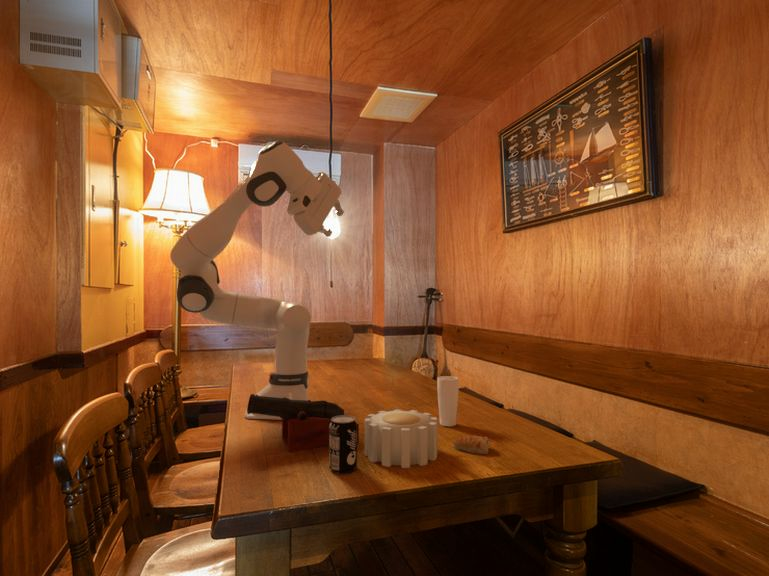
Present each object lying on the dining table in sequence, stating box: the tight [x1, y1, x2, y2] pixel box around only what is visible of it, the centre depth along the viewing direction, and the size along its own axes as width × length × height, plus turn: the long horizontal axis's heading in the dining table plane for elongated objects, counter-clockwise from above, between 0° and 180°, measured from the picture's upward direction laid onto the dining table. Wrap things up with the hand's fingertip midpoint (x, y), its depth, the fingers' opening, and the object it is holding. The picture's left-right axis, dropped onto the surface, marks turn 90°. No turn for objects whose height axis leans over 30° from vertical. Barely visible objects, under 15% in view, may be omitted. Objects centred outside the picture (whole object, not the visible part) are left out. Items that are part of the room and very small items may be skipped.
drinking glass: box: [436, 375, 460, 428], centre depth 140 cm, size 7×7×15 cm
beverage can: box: [328, 414, 358, 474], centre depth 104 cm, size 7×7×12 cm
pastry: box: [453, 435, 490, 455], centre depth 118 cm, size 9×7×4 cm
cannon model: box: [246, 393, 360, 453], centre depth 122 cm, size 13×30×15 cm, turn 113°
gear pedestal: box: [364, 409, 439, 469], centre depth 115 cm, size 19×19×9 cm
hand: (335, 224), depth 135 cm, fingers open, 8 cm apart
